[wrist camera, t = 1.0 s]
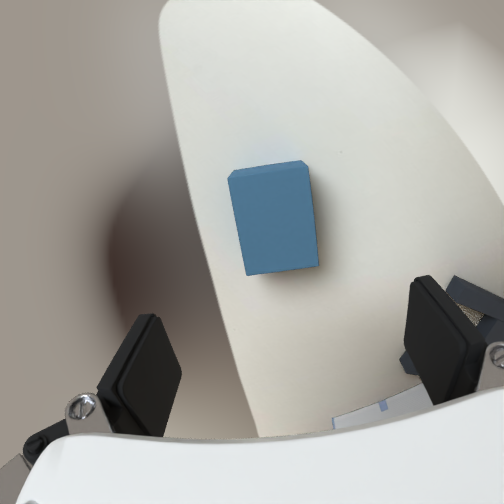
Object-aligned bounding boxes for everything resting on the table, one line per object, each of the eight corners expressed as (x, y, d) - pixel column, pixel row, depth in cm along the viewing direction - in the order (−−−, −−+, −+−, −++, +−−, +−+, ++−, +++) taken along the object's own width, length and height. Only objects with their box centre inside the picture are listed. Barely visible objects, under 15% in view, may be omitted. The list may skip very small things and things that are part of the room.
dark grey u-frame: (454, 274, 27) (465, 286, 25) (513, 303, 28) (522, 313, 26) (399, 359, 31) (405, 373, 29) (465, 371, 33) (472, 383, 30)
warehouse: (331, 418, 36) (338, 463, 29) (428, 379, 33) (448, 420, 26) (366, 480, 46) (371, 508, 39) (430, 456, 43) (439, 483, 36)
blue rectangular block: (301, 160, 24) (308, 166, 20) (312, 246, 26) (319, 266, 23) (233, 170, 24) (227, 178, 20) (249, 255, 27) (246, 276, 23)
